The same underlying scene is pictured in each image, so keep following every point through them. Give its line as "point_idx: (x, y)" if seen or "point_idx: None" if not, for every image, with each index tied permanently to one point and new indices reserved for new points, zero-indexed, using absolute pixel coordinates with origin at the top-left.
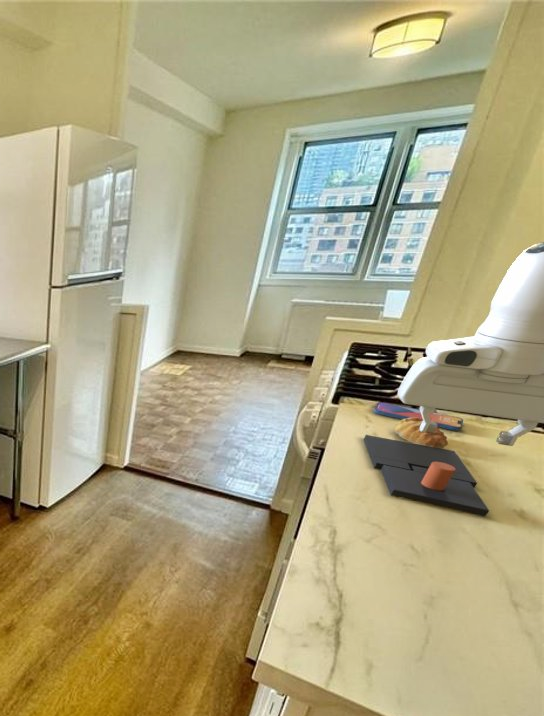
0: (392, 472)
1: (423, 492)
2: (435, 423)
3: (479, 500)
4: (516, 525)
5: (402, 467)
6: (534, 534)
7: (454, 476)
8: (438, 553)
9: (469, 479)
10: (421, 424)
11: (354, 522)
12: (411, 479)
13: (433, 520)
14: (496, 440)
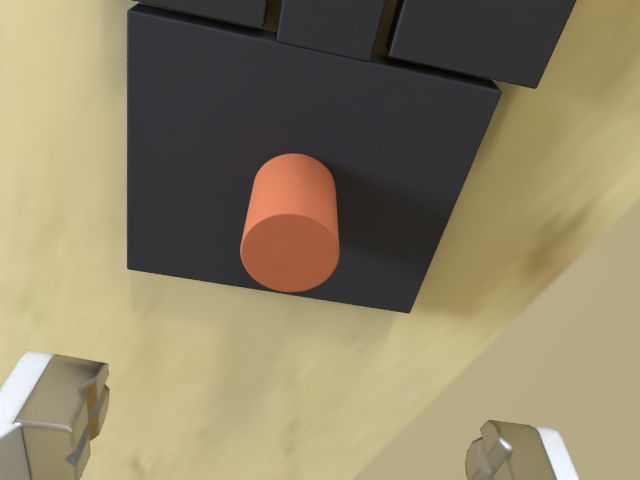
0: (154, 105)
1: (233, 257)
2: (66, 469)
3: (423, 255)
4: (472, 315)
5: (223, 14)
6: (487, 345)
7: (464, 43)
8: (185, 467)
9: (524, 56)
10: (11, 382)
11: None
12: (224, 155)
13: (227, 356)
14: (490, 420)
